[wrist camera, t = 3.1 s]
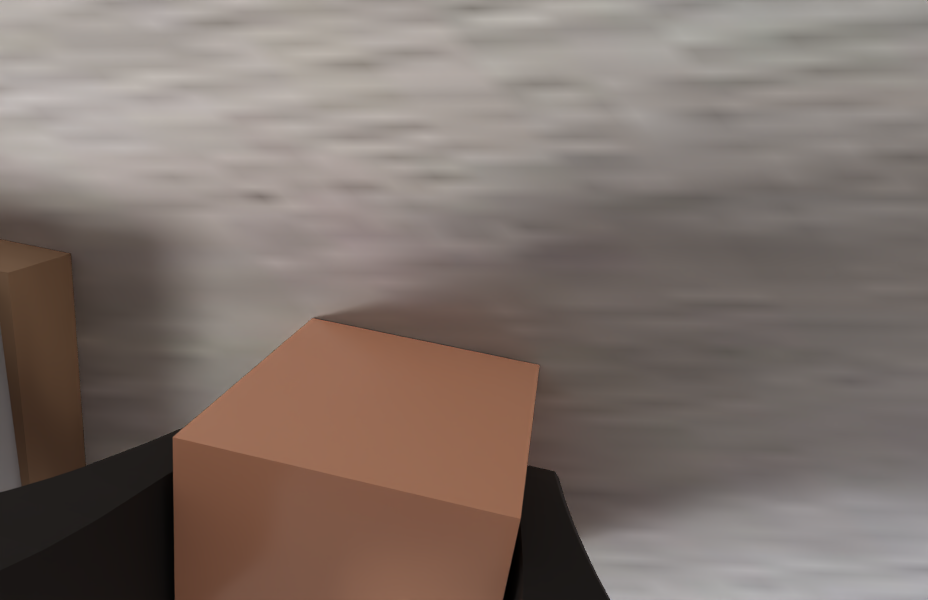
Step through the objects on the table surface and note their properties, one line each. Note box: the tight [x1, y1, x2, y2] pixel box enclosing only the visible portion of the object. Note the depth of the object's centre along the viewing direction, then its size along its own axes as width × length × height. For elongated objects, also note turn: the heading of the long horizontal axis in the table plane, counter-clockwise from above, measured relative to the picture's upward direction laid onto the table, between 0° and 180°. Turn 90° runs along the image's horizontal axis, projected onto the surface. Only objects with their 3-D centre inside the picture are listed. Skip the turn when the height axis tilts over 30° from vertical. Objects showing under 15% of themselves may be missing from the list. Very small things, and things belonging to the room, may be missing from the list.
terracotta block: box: [173, 318, 540, 600], centre depth 10 cm, size 4×4×4 cm
